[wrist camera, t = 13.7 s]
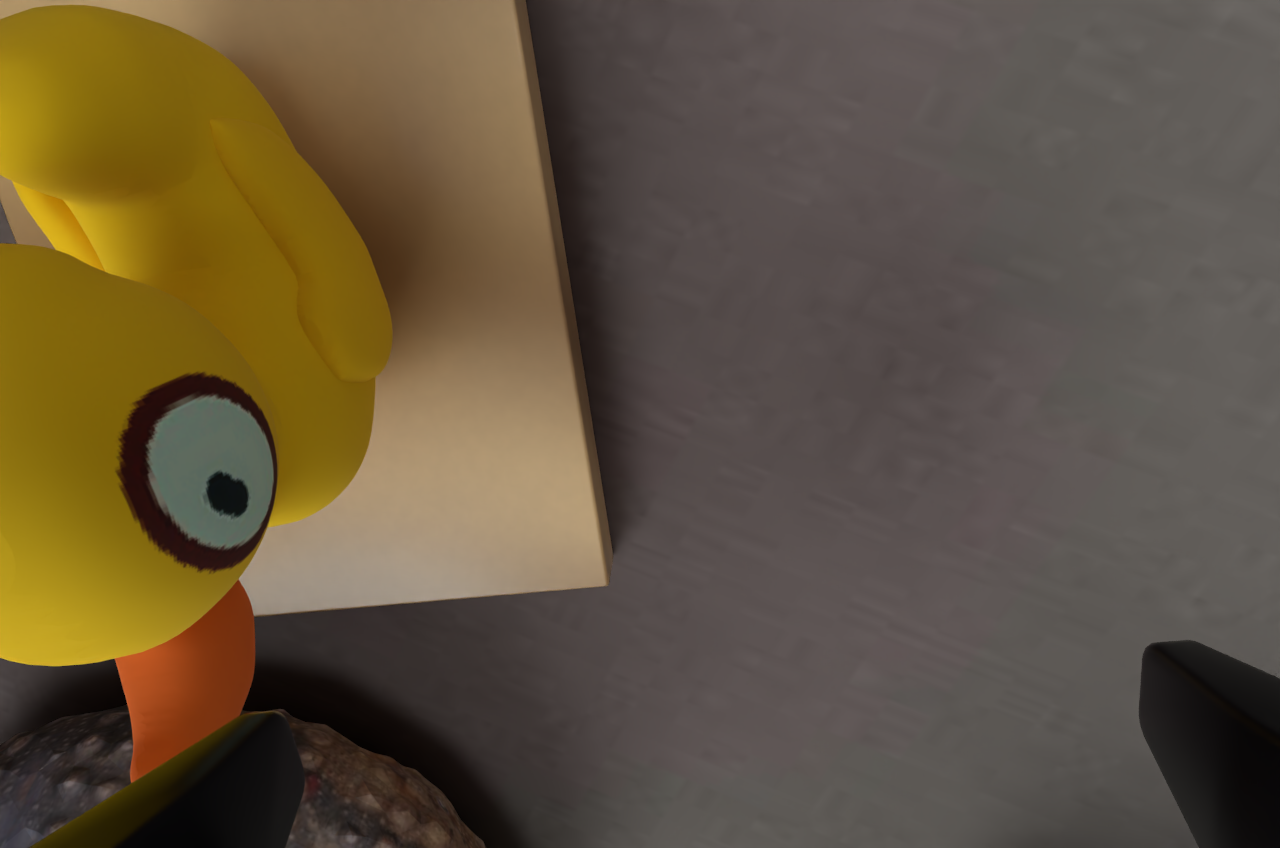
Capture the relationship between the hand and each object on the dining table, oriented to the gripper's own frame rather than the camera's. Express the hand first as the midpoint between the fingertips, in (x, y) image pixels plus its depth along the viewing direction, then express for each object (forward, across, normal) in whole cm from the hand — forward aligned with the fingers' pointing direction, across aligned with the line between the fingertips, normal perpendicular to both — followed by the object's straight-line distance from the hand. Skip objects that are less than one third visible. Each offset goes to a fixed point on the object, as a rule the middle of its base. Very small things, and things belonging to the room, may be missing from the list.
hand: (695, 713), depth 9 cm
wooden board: (+12, +9, -3) cm, 15 cm away
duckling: (+11, +9, -3) cm, 14 cm away
